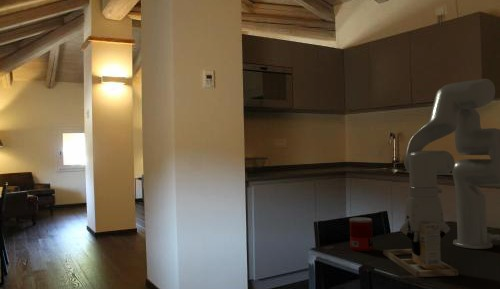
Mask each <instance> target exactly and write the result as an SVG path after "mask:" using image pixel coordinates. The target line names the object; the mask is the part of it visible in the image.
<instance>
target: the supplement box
mask: <svg viewBox="0 0 500 289" xmlns="http://www.w3.org/2000/svg"><path fill="white" fill-rule="evenodd" d="M418 242H419V243H420V255H419V256H417V255H415V254H414V253H413V252H412V254H411V255H412V256H411V257H412V258H411V259H413V262H415V263H417V264H419V265H420V266H422V267H424V268H426V269H439V268H440V269H442V268H441V261H442V259H441V258H442V257H441V256H442V255H441V241H440V224H438V223H421V231H420V232H419V237H418Z"/></svg>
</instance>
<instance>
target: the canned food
mask: <svg viewBox="0 0 500 289" xmlns="http://www.w3.org/2000/svg"><path fill="white" fill-rule="evenodd" d="M373 231H374V230H373V219H372V218H371V217H370V218H369V217H363V216H361V217H360V216H359V217H358V216H356V217H350V218H349V242H350V244H349V246H350V249H351V250H352V251H354V252H360V251H367V252H371V251H373V249H374V236H373V235H374V233H373Z"/></svg>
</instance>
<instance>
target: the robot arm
mask: <svg viewBox="0 0 500 289" xmlns="http://www.w3.org/2000/svg"><path fill="white" fill-rule="evenodd" d="M495 96H496V86H495V85H494V82H493V81H492V80H490V79H488V78H481V79H473V80H466V81H460V82H459V81H458V82H452V83H448V84H446V85H443V86H442V87H441V88H439V89H438V90H437V91H436V93H435V96H434V100H433V103H432V108H431V111H430V113H429V114H430V115H429V119H428V122H427V123H425V124H424V125H423V126H422V127H421V128H419V129H418V130H417V131H416V132H415V133H414V134H413V136H412V137H411V138H410V140H409V141H408V144H407V147H406V150H405V155H404V167H405V170H406V172H408V173H409V175H408V176H409V196H408V197H406V203H405V208H404V209H405V211H404V222H403V224H402V225H401V227H400V228H399V231H400V233H403V234H404V236H406V237H408V238H409V240H410V241H411V249H412V252H413V253H414V254H415V255H417V256H419V255H420V243H419V242H418V237H419V232H420V231H421V223H438V224H440V242H441V241H442V239H443V237H444V236H445V235H446V234H447V233H448V232H450V231H451V227H449V225H448V224H447V223H446V222H445V220H444V219H445V218H444V211H443V205H442V202H441V199H440V197H439V194H442V188H439V187H438V177H437V176H440V175H441V176H442V175H448V174H450V173H451V174H452V177H453V178H452V179H453V182H454V187H455V201H456V202H455V204H456V205H455V207H456V225H457V226H456V227H457V228H456V229H457V232H456V233H457V239H453V240H452V244H453V245H455V246H456V247H460V248H464V249H473V250H474V249H475V250H487V249H491V248H493V247H494V246H493V243H492V241H500V234H492V233H489V232H488V226H487V225H488V224H487V204H486V203H487V199H486V197H485V194H484V192H483V191H482V190H481V189H480V188H479V186H488V187H489V186H490V187H491V186H492V187H496V186H497V187H500V128H492V127H489V128H487V127H486V128H482V126H481V116H480V113H479V112H478V110H476V109H479V108H482V107H485V106H487V105H488V104H490V103H491V102H493V100H494V98H495ZM453 133H454V144H455V151H456V152H457V153H458V154H460V155H461V156H488V157H490V158H463V159H459V160H457V161H455V158H454V156H453V155H452V153H451V152H449V151H446V150H423V149H424V148H426V146H428V145H429V144H431V143H433V142H435V141H437V140H439V139H442V138H445V137H446V136H449V135H451V134H453ZM408 230H410V231H411V232H410V231H408Z"/></svg>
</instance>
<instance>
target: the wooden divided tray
mask: <svg viewBox="0 0 500 289" xmlns="http://www.w3.org/2000/svg"><path fill="white" fill-rule="evenodd" d="M382 252H383V256H385V257H386V258H388V259H390V261H392V262H394V263H395V264H397V265H398V266H400V267H401V268H403V269H404V270H406V271H407V272H408V273H410V274H411V275H413V276H414V277H415V278H420V277H421V278H422V277H423V278H425V277H427V278H428V277H429V278H430V277H452V276H453V277H454V276H455V277H456V276H459V269H457V268H455V267H453V266H451V265H449V264H447V263H445V262H443V261H442V260H441V268H439V269H426V268H424V267H422V266H420V265H419V264H417V263H415V262H413V258H400V257H397V255H399V256H400V255H412V248H405V249H404V248H403V249H402V248H401V249H397V248H396V249H383V251H382Z"/></svg>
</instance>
